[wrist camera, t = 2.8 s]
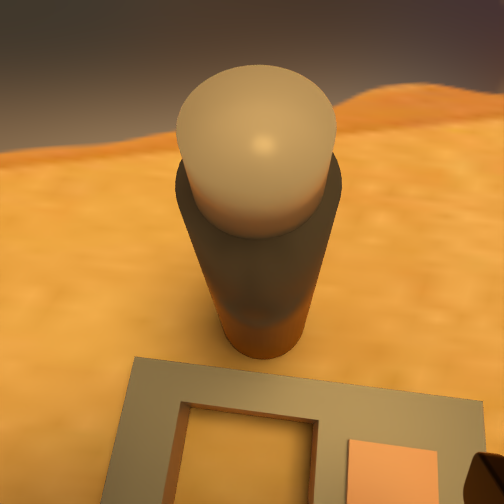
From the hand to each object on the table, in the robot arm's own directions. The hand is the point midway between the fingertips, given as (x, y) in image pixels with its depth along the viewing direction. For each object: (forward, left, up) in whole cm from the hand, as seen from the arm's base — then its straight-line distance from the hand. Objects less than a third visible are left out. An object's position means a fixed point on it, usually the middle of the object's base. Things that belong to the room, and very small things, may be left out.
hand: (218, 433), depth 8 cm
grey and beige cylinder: (+6, 0, -12) cm, 14 cm away
